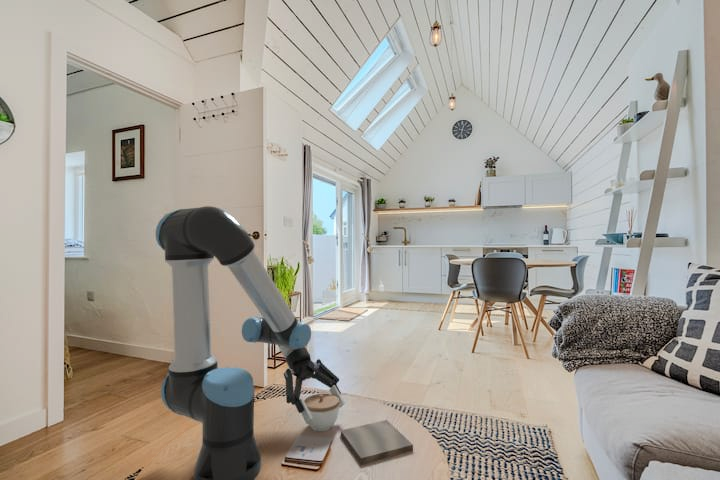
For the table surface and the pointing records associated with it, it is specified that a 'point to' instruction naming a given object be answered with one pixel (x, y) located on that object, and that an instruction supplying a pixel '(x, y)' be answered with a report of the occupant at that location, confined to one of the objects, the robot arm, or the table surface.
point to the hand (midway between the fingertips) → (326, 413)
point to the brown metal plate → (375, 441)
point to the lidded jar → (322, 411)
